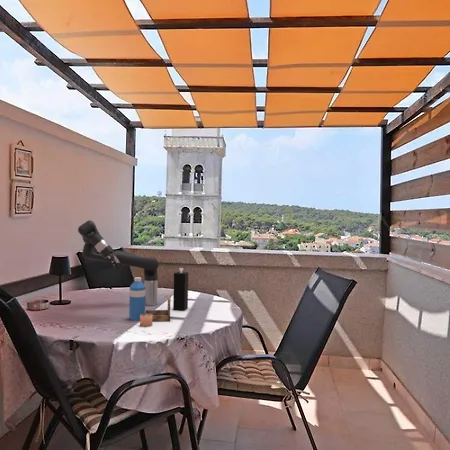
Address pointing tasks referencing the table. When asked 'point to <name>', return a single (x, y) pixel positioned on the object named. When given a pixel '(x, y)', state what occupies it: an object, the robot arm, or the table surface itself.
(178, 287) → the black square pillar
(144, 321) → the clay pot
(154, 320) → the brown wooden frame
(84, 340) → the table surface
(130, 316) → the water bottle
